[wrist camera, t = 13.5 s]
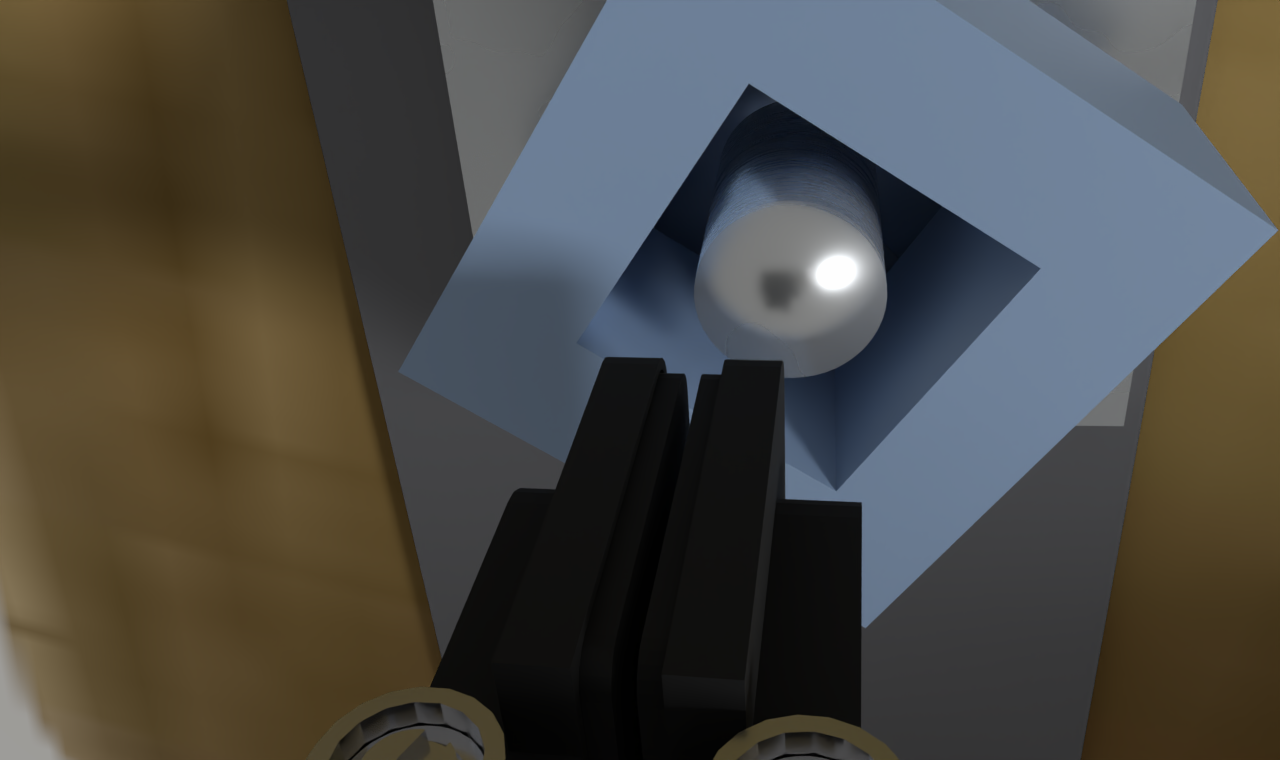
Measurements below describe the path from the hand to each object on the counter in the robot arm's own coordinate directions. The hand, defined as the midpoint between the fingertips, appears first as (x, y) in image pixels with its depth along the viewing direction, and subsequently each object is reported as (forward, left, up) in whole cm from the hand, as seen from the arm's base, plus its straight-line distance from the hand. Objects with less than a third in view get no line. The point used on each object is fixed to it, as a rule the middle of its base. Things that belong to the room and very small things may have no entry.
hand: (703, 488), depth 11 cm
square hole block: (-1, -1, -5) cm, 5 cm away
